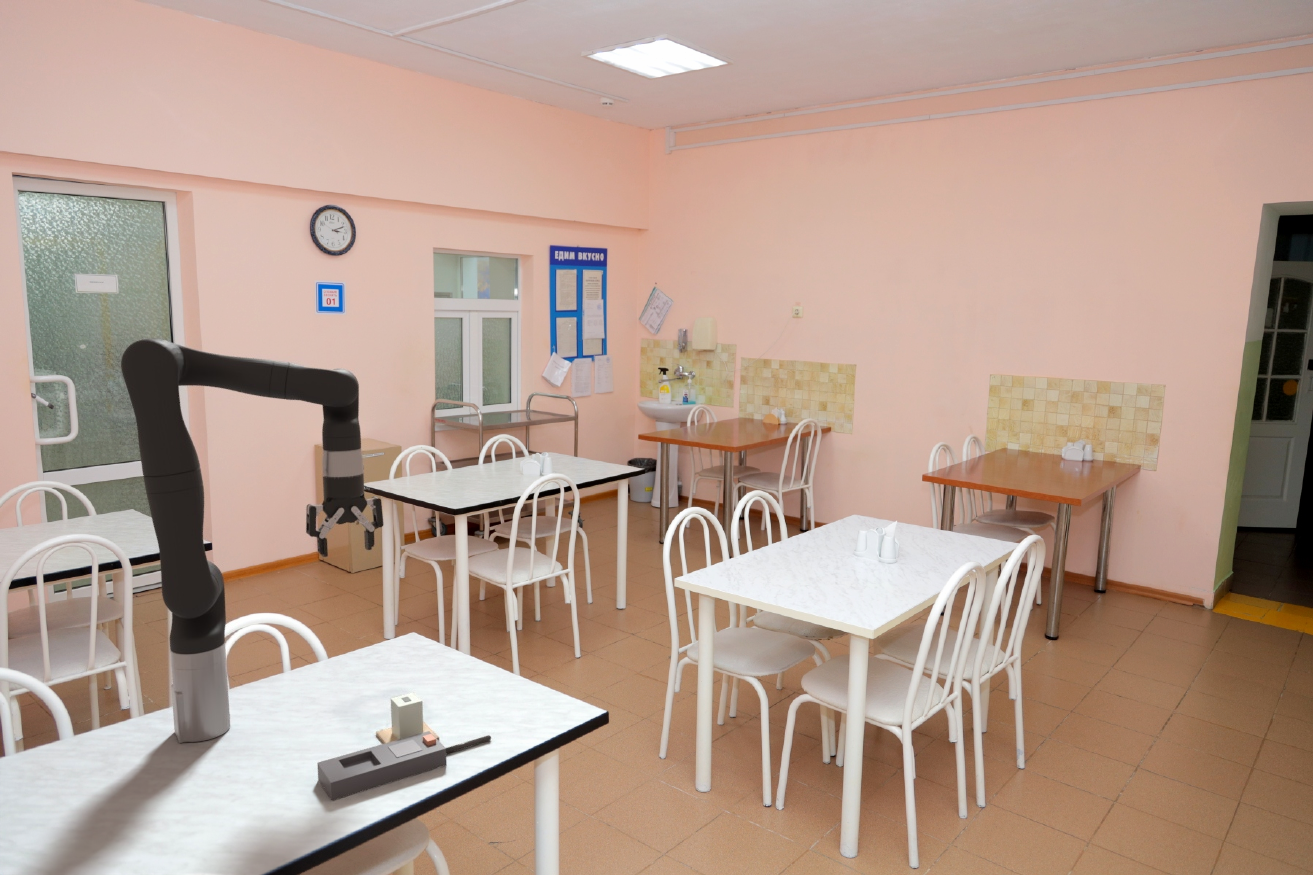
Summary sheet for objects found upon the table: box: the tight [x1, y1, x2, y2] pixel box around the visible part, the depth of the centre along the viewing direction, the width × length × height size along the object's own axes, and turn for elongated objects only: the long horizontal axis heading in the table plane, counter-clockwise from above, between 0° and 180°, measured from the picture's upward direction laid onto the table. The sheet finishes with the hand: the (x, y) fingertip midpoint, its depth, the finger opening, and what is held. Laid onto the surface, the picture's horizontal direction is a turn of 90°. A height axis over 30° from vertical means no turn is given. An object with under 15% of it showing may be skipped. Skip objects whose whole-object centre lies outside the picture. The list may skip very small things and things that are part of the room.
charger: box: [390, 692, 424, 740], centre depth 164 cm, size 4×4×7 cm
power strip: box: [317, 731, 492, 802], centre depth 155 cm, size 30×8×4 cm, turn 126°
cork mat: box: [375, 720, 440, 744], centre depth 165 cm, size 9×9×1 cm
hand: (346, 552), depth 171 cm, fingers open, 8 cm apart
